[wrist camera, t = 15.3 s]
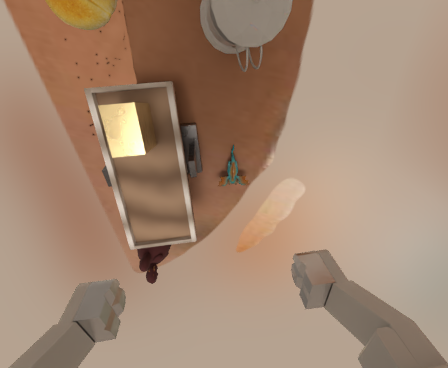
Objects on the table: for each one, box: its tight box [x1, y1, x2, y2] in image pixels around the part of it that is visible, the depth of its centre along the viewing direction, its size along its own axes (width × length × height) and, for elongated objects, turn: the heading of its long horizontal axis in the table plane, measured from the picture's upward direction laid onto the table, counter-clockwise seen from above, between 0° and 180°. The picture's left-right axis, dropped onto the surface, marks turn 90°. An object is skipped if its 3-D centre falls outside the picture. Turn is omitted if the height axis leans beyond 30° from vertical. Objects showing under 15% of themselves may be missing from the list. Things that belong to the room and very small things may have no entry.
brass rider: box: [98, 102, 157, 158], centre depth 28 cm, size 6×4×7 cm, turn 4°
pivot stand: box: [102, 123, 202, 186], centre depth 39 cm, size 10×16×9 cm, turn 94°
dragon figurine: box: [218, 145, 249, 186], centre depth 44 cm, size 6×7×8 cm
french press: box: [200, 0, 293, 72], centre depth 22 cm, size 10×12×25 cm
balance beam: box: [84, 81, 197, 250], centre depth 35 cm, size 26×12×3 cm, turn 4°
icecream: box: [137, 245, 171, 284], centre depth 46 cm, size 7×7×15 cm
